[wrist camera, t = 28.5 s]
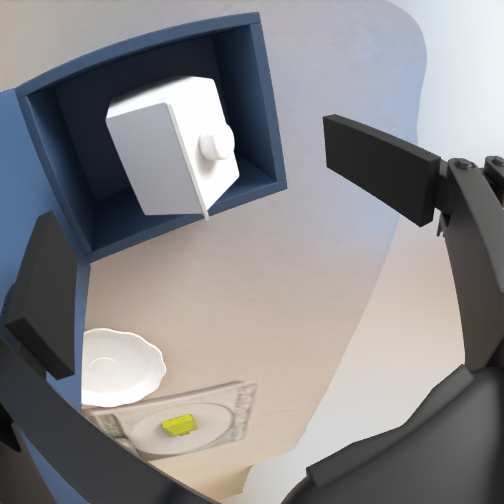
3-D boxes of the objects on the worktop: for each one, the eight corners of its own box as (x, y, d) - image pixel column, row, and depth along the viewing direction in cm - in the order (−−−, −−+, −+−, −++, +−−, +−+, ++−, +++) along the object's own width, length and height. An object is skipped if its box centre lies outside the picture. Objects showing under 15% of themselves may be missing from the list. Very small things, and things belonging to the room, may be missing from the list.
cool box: (215, 26, 29) (259, 11, 19) (241, 153, 38) (287, 188, 29) (45, 81, 25) (11, 89, 16) (92, 208, 34) (87, 265, 25)
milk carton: (132, 157, 32) (151, 245, 18) (110, 98, 28) (101, 131, 14) (193, 132, 34) (264, 198, 19) (174, 73, 29) (236, 81, 15)
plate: (173, 386, 57) (175, 393, 56) (74, 406, 50) (75, 413, 49) (149, 309, 45) (150, 317, 44) (25, 336, 39) (23, 344, 38)
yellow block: (195, 409, 64) (199, 419, 62) (203, 425, 70) (207, 434, 67) (153, 421, 61) (156, 432, 59) (165, 436, 67) (168, 446, 65)
